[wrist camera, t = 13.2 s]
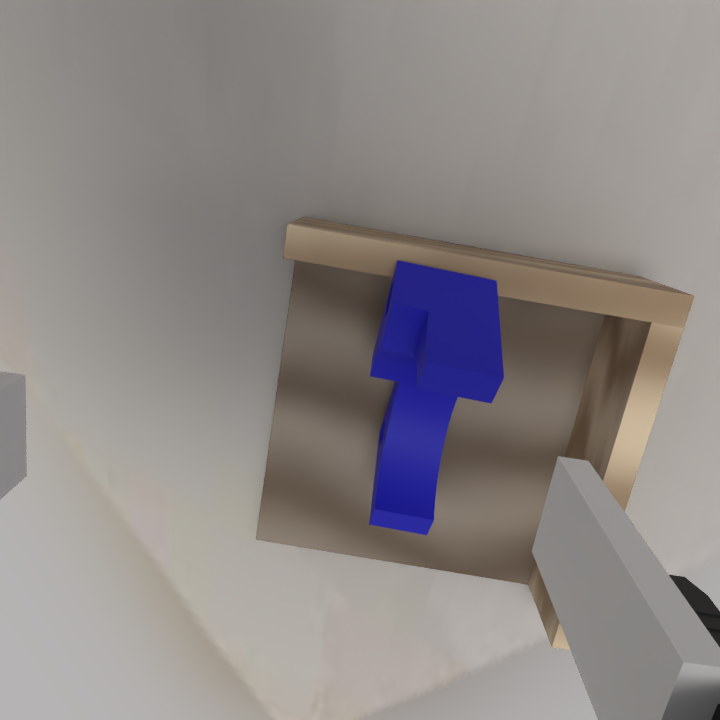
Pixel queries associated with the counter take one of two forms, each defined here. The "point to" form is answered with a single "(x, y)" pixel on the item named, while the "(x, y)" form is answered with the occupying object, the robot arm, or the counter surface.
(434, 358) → the cable clip
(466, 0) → the counter surface
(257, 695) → the counter surface
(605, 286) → the corner board
